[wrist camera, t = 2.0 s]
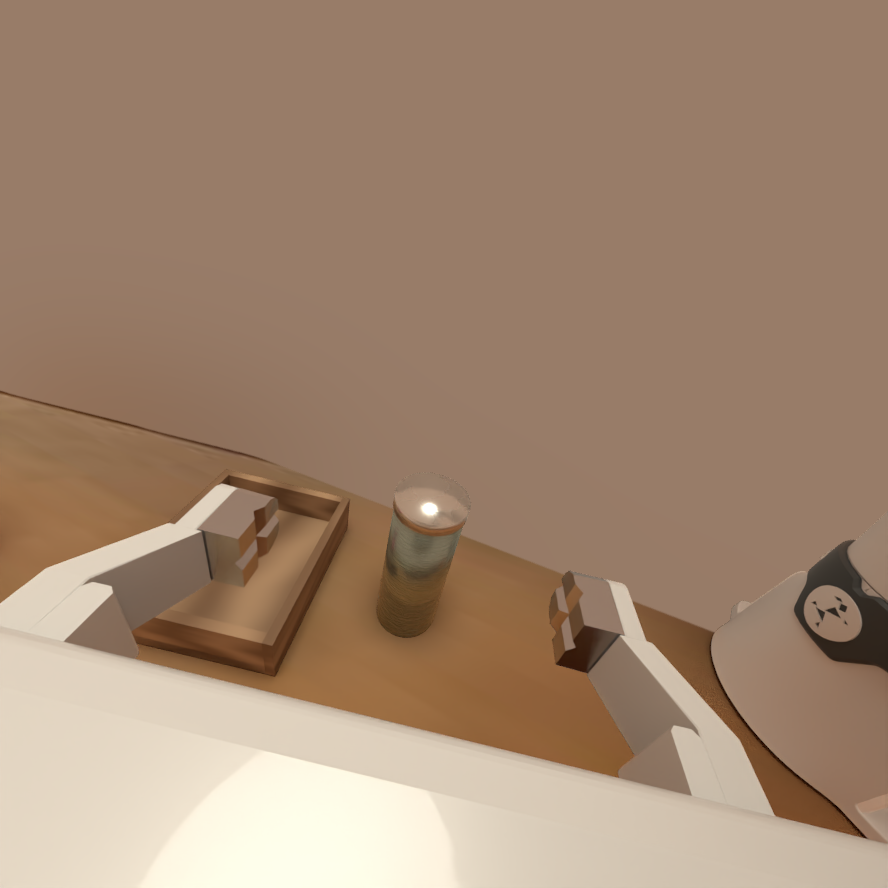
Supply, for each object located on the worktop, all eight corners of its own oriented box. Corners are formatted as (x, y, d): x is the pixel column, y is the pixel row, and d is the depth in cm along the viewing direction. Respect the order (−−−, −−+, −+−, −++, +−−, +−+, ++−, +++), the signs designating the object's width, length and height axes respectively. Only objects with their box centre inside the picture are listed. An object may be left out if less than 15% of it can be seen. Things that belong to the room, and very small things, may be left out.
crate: (347, 527, 38) (349, 498, 36) (275, 676, 26) (272, 645, 24) (230, 499, 38) (226, 469, 36) (102, 634, 26) (83, 600, 24)
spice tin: (439, 590, 34) (472, 482, 27) (430, 645, 30) (468, 533, 23) (384, 577, 34) (404, 465, 27) (367, 630, 30) (386, 513, 23)
